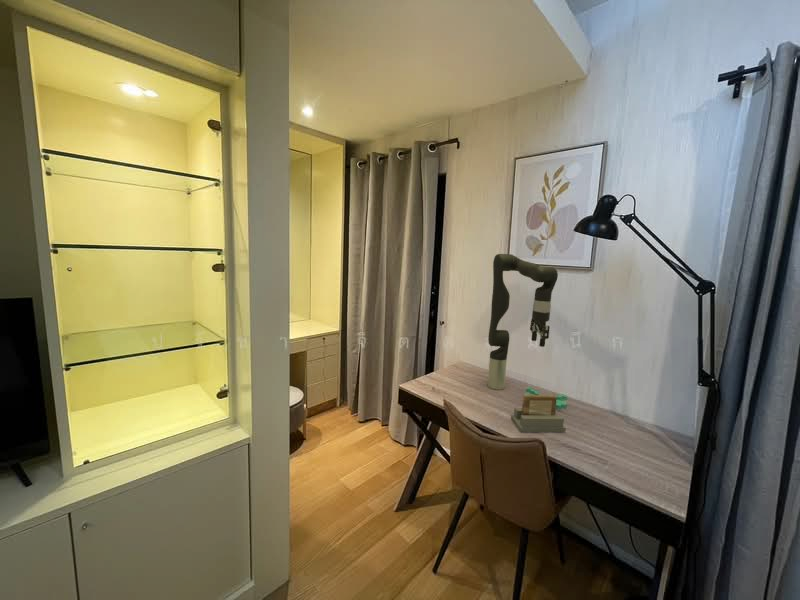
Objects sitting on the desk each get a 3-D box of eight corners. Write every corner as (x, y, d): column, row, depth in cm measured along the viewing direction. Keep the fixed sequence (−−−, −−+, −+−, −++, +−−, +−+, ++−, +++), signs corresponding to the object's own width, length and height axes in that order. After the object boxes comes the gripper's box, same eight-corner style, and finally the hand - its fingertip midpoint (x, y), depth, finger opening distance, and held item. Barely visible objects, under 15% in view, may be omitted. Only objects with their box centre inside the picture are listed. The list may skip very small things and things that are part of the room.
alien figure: (527, 390, 191) (521, 405, 173) (527, 387, 190) (522, 401, 173) (566, 399, 181) (565, 415, 164) (566, 395, 181) (565, 410, 164)
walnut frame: (521, 419, 153) (523, 394, 151) (551, 419, 154) (553, 395, 152) (523, 422, 151) (525, 397, 149) (554, 422, 151) (557, 397, 149)
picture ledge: (511, 419, 158) (512, 407, 157) (552, 419, 159) (554, 407, 158) (520, 432, 147) (521, 419, 146) (565, 432, 148) (566, 419, 147)
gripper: (527, 306, 163) (523, 338, 166) (540, 313, 149) (536, 348, 152) (542, 306, 164) (538, 339, 167) (557, 313, 150) (552, 348, 153)
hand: (537, 343), depth 160 cm, fingers open, 8 cm apart
